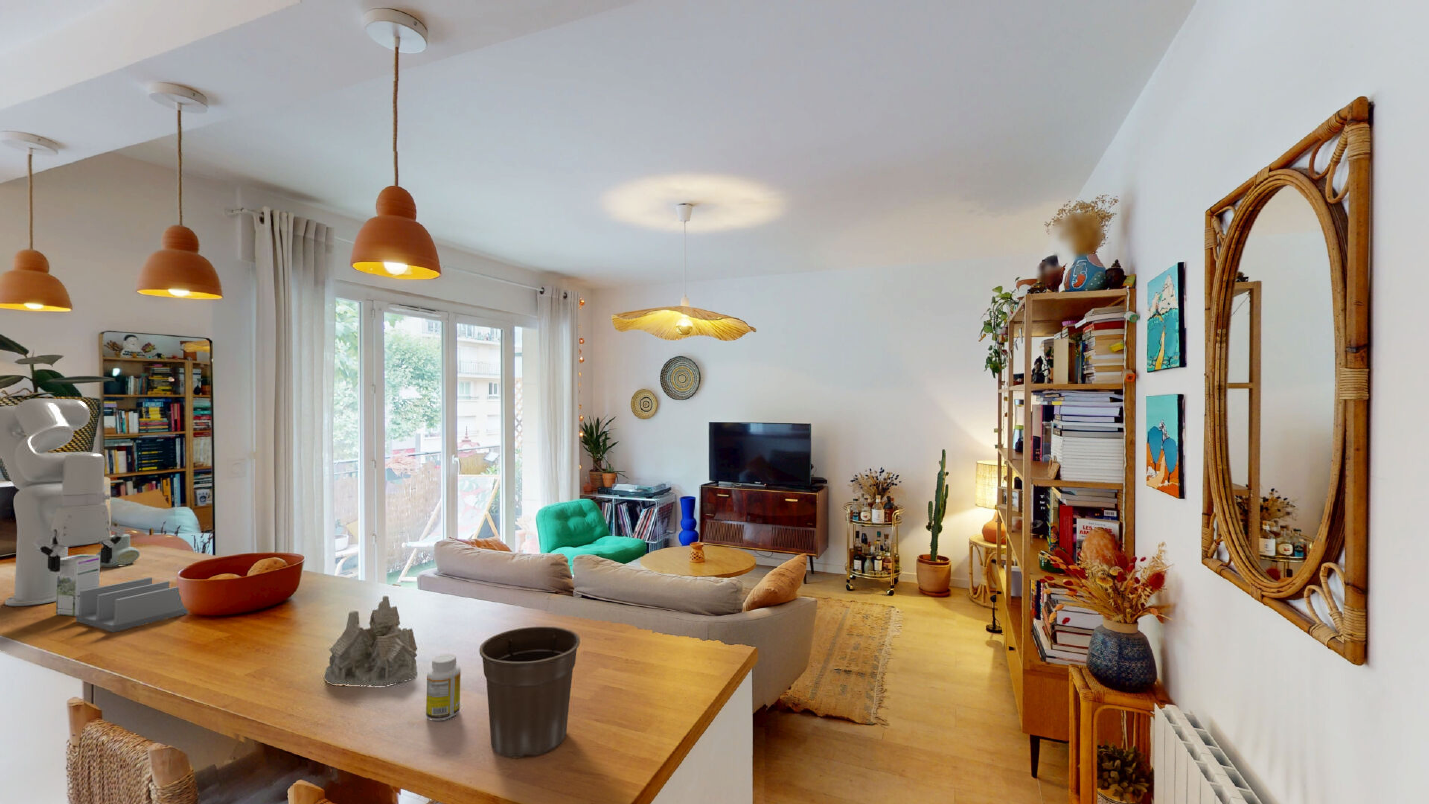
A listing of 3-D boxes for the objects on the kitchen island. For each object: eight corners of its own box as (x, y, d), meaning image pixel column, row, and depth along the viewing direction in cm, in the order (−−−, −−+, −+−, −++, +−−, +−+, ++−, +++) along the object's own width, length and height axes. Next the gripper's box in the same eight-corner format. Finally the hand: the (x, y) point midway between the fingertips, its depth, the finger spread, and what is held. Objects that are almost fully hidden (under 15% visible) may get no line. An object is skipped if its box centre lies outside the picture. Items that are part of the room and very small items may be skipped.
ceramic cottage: (321, 670, 125) (327, 598, 125) (407, 655, 135) (414, 589, 135) (328, 705, 112) (336, 625, 112) (423, 685, 123) (430, 613, 122)
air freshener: (123, 560, 207) (124, 531, 208) (144, 562, 206) (146, 532, 207) (87, 568, 196) (88, 538, 197) (109, 570, 196) (111, 539, 196)
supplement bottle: (450, 704, 112) (452, 649, 112) (465, 714, 108) (467, 657, 109) (420, 715, 108) (421, 658, 108) (434, 726, 104) (436, 666, 104)
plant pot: (453, 752, 96) (457, 651, 97) (519, 708, 111) (522, 620, 112) (537, 777, 90) (540, 669, 91) (595, 726, 106) (598, 633, 106)
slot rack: (75, 621, 149) (77, 591, 149) (151, 604, 163) (152, 576, 163) (113, 632, 143) (114, 600, 143) (188, 613, 157) (189, 584, 157)
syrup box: (99, 609, 158) (102, 554, 159) (73, 616, 152) (76, 559, 153) (80, 608, 159) (83, 553, 159) (53, 615, 153) (56, 558, 153)
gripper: (118, 496, 166) (116, 558, 165) (28, 504, 150) (25, 573, 149) (133, 497, 163) (131, 561, 162) (43, 505, 147) (40, 576, 146)
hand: (80, 567), depth 156 cm, fingers open, 9 cm apart
